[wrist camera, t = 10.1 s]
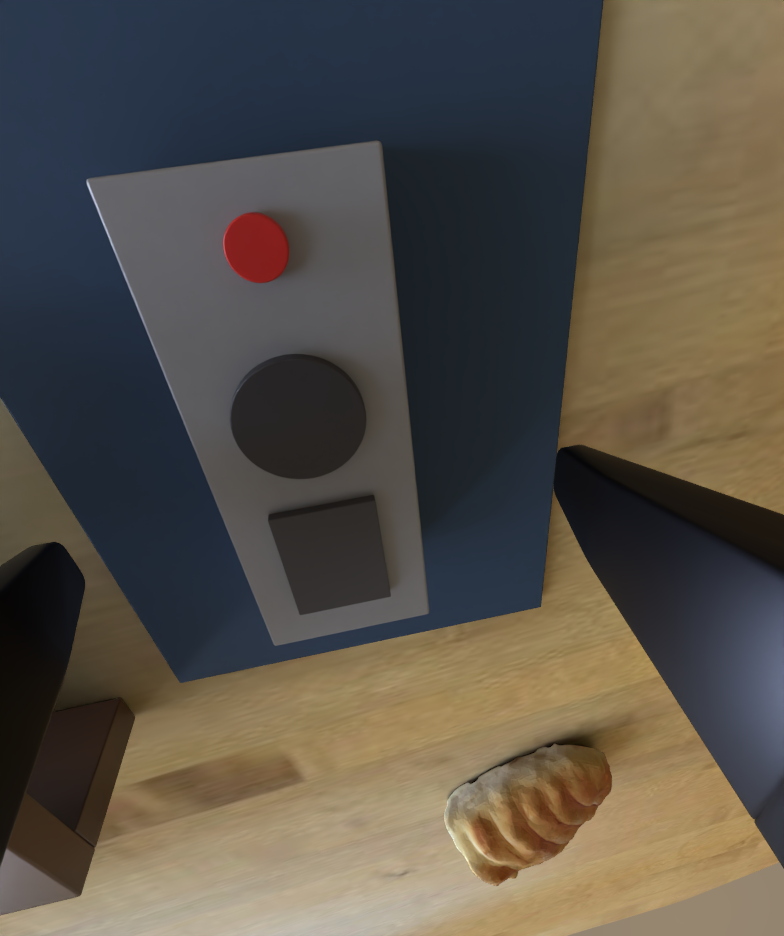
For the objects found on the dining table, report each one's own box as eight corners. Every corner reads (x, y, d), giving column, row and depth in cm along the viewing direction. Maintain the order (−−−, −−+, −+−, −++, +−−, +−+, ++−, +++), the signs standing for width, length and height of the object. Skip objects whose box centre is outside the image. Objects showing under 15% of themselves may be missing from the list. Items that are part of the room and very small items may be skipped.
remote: (410, 547, 15) (432, 623, 13) (278, 573, 15) (273, 656, 12) (362, 147, 9) (385, 138, 7) (139, 176, 9) (74, 178, 6)
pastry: (558, 719, 24) (597, 802, 21) (619, 748, 27) (661, 825, 24) (429, 801, 27) (447, 886, 24) (499, 819, 30) (522, 896, 27)
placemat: (537, 599, 19) (541, 607, 18) (182, 674, 18) (179, 683, 17) (615, -225, 8) (629, -244, 7) (-328, -159, 6) (-365, -178, 6)
